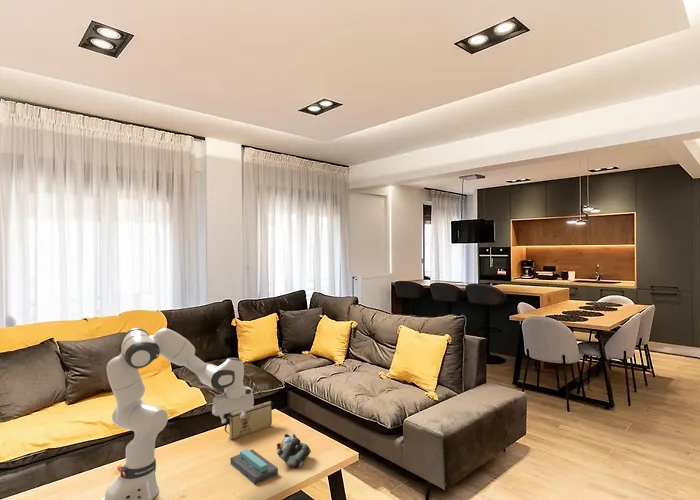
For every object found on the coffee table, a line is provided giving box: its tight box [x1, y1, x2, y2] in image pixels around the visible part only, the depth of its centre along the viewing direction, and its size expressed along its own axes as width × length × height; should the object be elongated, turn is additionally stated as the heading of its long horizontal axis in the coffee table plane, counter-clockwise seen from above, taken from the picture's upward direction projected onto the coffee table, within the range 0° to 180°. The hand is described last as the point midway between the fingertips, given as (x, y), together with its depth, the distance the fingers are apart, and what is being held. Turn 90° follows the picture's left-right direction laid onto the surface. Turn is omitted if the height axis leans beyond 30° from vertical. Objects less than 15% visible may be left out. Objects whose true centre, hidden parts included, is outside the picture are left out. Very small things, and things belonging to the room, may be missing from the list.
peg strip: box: [239, 448, 268, 472], centre depth 194 cm, size 4×20×5 cm, turn 43°
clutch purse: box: [224, 400, 273, 441], centre depth 233 cm, size 30×7×15 cm, turn 134°
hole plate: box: [229, 449, 279, 486], centre depth 194 cm, size 12×24×3 cm, turn 43°
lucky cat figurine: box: [276, 433, 312, 469], centre depth 201 cm, size 15×12×14 cm
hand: (233, 420), depth 194 cm, fingers open, 8 cm apart
